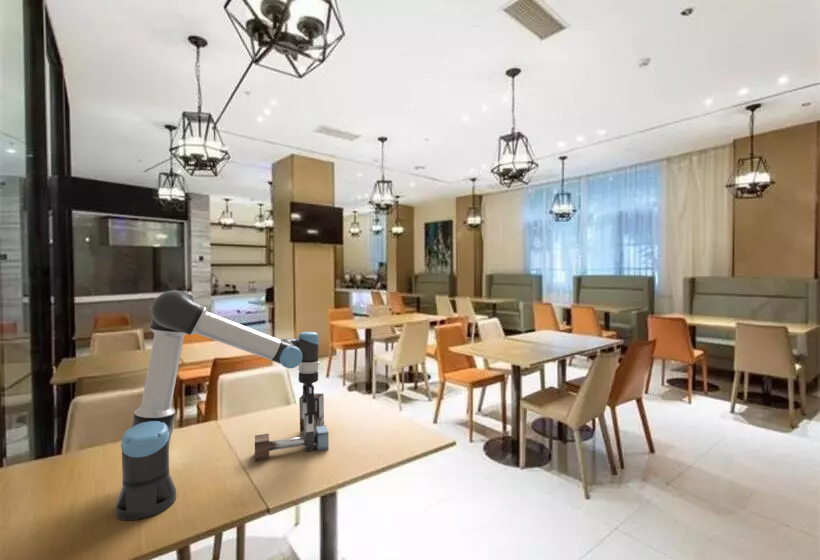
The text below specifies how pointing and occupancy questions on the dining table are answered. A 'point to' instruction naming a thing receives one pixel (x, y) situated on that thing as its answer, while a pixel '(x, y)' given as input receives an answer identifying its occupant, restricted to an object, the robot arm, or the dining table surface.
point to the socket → (322, 438)
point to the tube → (296, 441)
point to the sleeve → (261, 447)
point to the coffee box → (317, 409)
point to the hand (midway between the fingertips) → (307, 424)
